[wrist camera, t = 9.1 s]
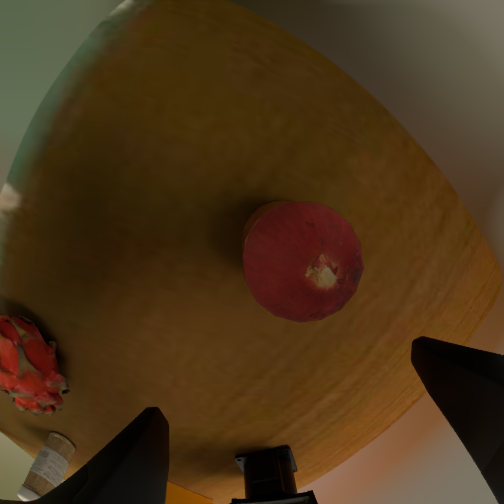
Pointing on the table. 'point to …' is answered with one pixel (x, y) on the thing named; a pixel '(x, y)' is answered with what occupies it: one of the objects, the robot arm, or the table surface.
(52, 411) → the dragon fruit
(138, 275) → the table surface
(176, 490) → the orange juice
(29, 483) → the sprinkles bottle
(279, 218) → the onion
